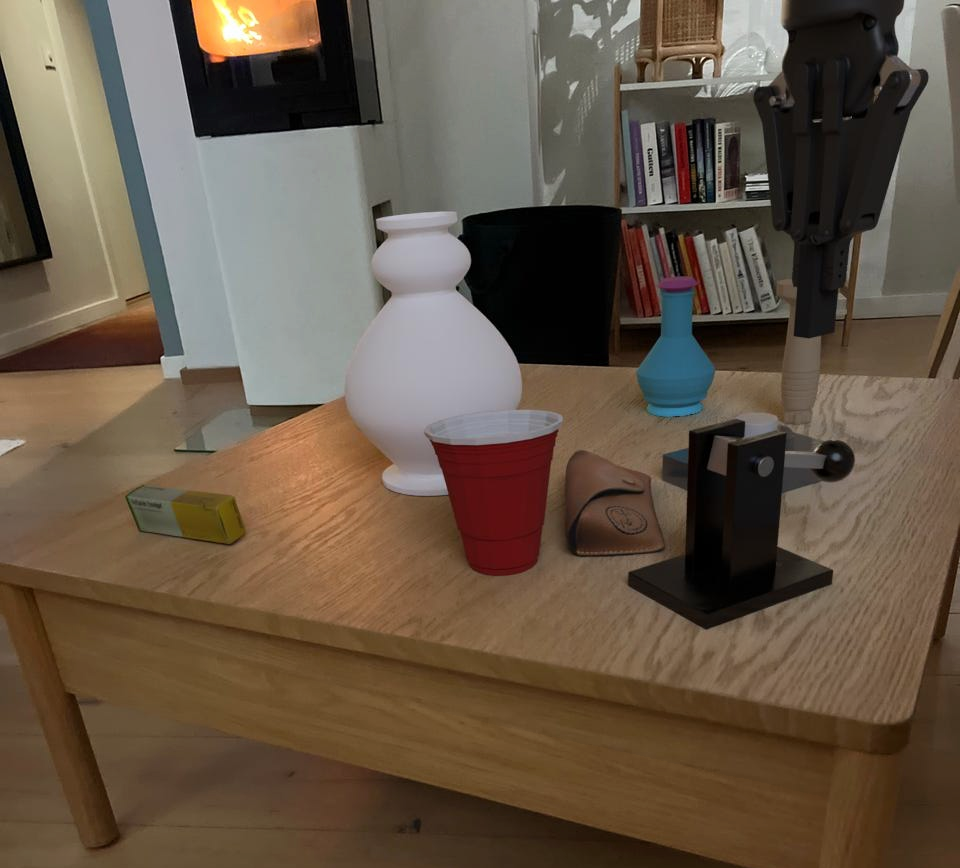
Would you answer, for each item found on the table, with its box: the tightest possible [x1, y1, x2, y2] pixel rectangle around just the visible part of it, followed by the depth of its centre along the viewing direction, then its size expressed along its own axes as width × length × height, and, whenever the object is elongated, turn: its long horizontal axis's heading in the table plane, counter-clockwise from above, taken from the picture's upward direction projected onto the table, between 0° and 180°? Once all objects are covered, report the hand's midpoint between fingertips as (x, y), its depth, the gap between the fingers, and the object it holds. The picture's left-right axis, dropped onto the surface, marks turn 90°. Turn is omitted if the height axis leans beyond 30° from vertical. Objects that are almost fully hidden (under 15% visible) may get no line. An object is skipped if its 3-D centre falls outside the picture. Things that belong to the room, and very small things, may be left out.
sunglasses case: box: [564, 449, 666, 557], centre depth 84 cm, size 18×7×7 cm, turn 176°
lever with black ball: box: [707, 436, 856, 484], centre depth 68 cm, size 13×3×3 cm, turn 119°
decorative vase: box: [343, 211, 523, 497], centre depth 92 cm, size 18×18×25 cm
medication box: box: [124, 484, 247, 545], centre depth 87 cm, size 12×3×4 cm, turn 61°
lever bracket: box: [627, 418, 834, 630], centre depth 68 cm, size 12×9×12 cm
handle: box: [775, 278, 841, 426], centre depth 102 cm, size 5×6×15 cm
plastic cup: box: [424, 409, 564, 577], centre depth 75 cm, size 11×11×12 cm
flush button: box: [733, 412, 779, 438], centre depth 88 cm, size 4×4×2 cm
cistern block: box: [661, 423, 825, 494], centre depth 90 cm, size 14×10×4 cm
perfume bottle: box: [636, 275, 716, 418], centre depth 110 cm, size 9×9×15 cm
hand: (813, 334), depth 71 cm, fingers closed
